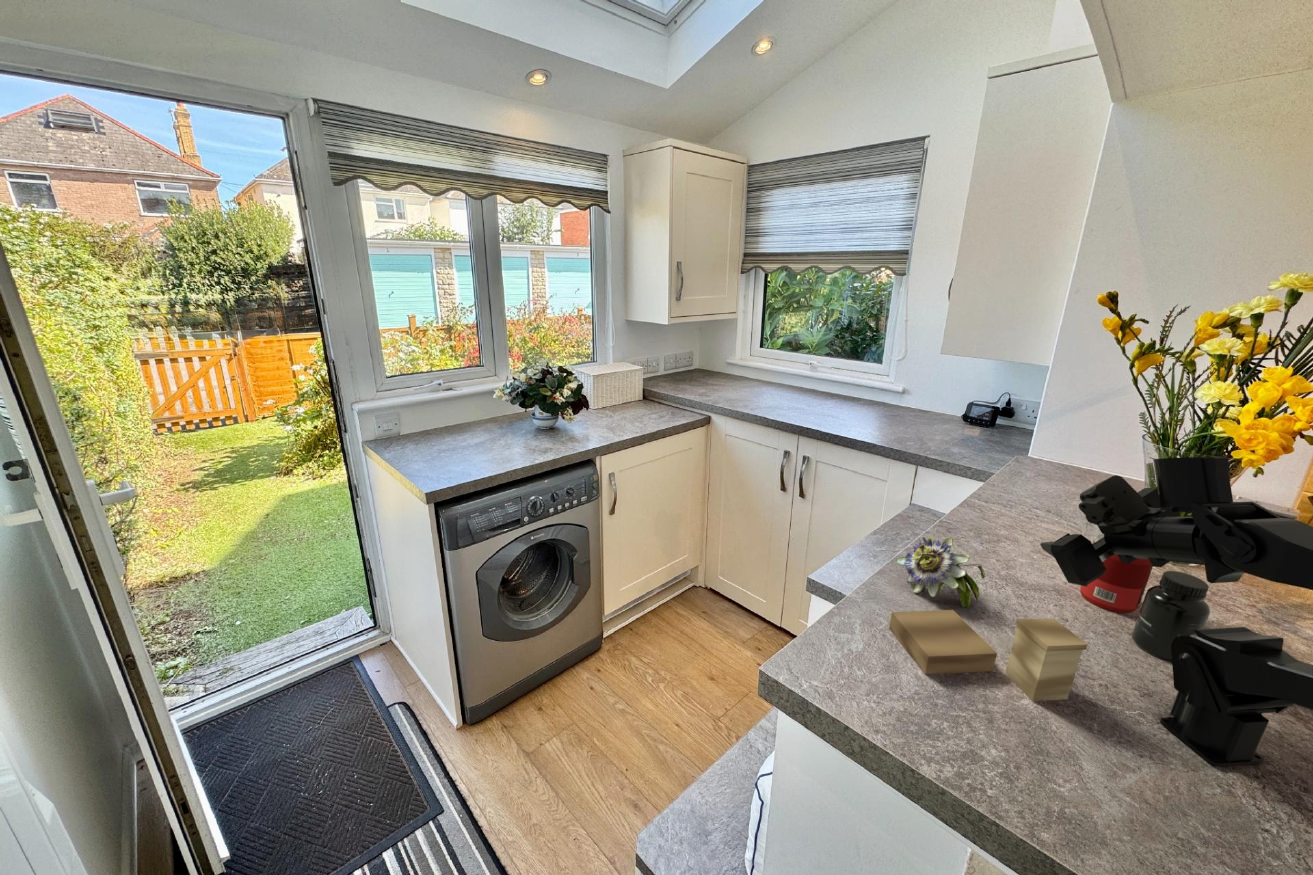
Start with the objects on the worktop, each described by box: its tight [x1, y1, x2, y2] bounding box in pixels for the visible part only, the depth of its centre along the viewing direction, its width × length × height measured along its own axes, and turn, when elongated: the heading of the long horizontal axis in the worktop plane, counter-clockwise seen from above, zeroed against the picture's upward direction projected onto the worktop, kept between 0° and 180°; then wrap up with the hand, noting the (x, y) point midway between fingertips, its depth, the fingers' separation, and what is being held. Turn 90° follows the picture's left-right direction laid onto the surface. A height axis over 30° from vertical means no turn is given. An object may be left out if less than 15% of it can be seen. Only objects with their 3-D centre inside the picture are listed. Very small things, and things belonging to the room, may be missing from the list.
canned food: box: [1079, 533, 1153, 614], centre depth 89 cm, size 8×8×11 cm
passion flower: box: [895, 536, 986, 609], centre depth 92 cm, size 11×11×12 cm
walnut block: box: [888, 609, 998, 675], centre depth 78 cm, size 10×10×3 cm
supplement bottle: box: [1131, 570, 1211, 662], centre depth 78 cm, size 7×7×12 cm
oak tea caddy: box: [1004, 617, 1088, 702], centre depth 70 cm, size 5×5×9 cm
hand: (1064, 532), depth 82 cm, fingers open, 9 cm apart
